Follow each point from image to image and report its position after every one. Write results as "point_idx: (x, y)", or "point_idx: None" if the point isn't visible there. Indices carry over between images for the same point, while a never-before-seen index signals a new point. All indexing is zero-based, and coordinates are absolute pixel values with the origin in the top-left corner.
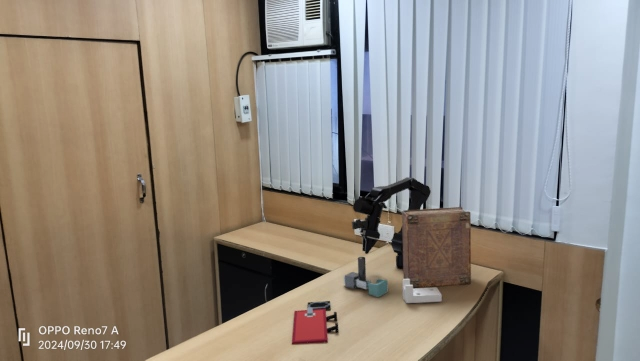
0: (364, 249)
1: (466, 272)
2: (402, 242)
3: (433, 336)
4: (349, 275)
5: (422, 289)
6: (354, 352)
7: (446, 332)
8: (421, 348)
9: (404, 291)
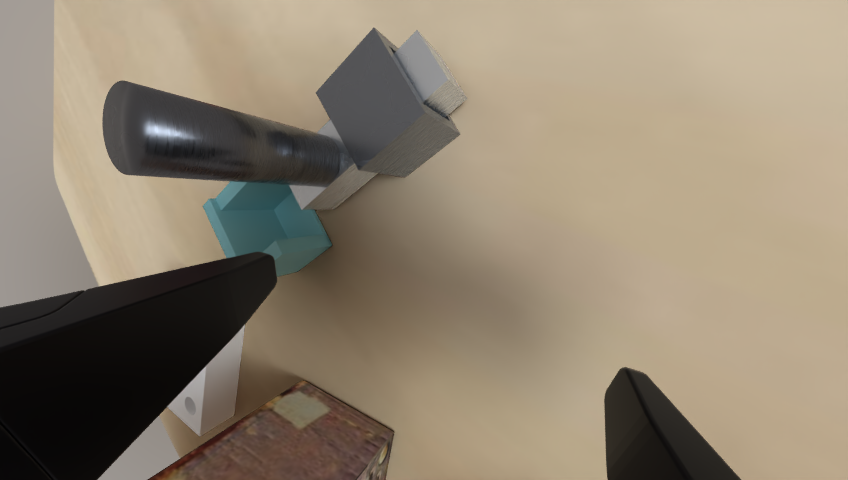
0: (619, 416)
1: None
2: None
3: (89, 238)
4: (360, 69)
5: (195, 377)
6: (60, 25)
7: (97, 276)
8: (65, 186)
9: None
